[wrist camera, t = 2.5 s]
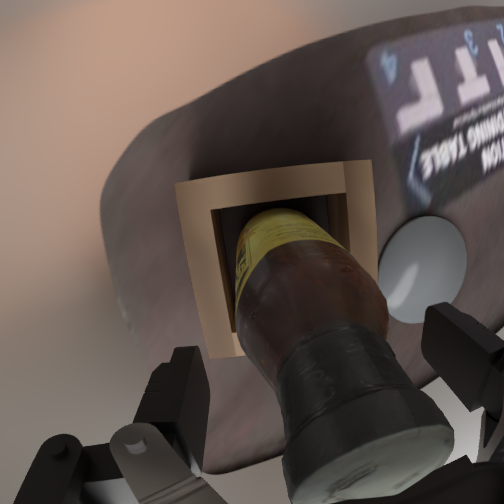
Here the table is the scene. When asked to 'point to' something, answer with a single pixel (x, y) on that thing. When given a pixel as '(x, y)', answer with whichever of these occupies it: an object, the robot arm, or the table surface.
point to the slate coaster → (421, 267)
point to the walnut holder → (263, 190)
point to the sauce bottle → (331, 365)
